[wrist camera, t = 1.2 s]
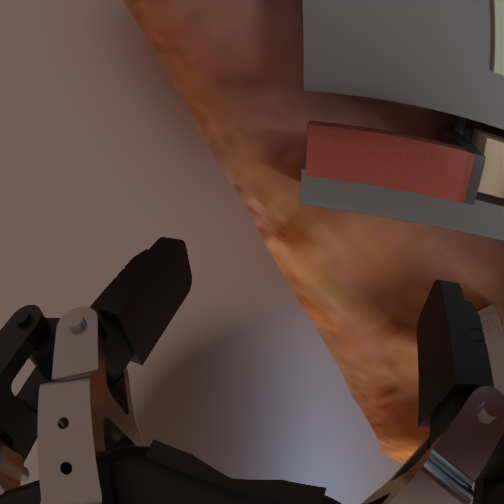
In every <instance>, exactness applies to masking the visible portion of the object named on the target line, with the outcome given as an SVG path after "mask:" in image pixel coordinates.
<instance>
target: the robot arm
mask: <svg viewBox="0 0 504 504" xmlns="http://www.w3.org/2000/svg"><path fill="white" fill-rule="evenodd" d="M191 283H192V275H191V270H190V265H189V260H188V255H187V249H186V245H185V242H184V241H183V240H180V239H173V238H166V237H161V238H159V239H158V240H157V241H156V242H155V243H154V244H153V246H152V247H151V248H150V249H149V250H147V249H146V250H145V251H143V252H141V253H140V254H138V255H136V256H135V257H133V258H132V260H131V261H130V262H129V263H128V264H127V265H126V266H125V269H123V270H122V271H121V272H120V273H119V274H118V276H117V278H115V279H114V280H113V281H112V282H111V283H110V284H109V285H108V287H107V288H106V289H105V290H104V291H103V292H102V293H101V295H100V296H99V297H98V298H97V299H96V300H95V302H94V303H93V304H92V305H91V306H90V307H78V308H74V309H72V310H70V311H68V312H67V313H66V314H65V315H63V316H62V318H45V317H44V315H43V313H42V312H41V310H40V308H39V307H38V306H36V305H27V306H24V307H22V308H21V309H19V310H18V311H16V312H15V313H14V315H13V316H12V317H11V318H10V319H9V321H8V322H7V323H6V324H5V325H4V327H3V328H2V329H1V330H0V504H341V503H340V502H338V501H336V500H334V499H332V498H330V497H328V496H325V495H324V494H325V491H326V488H324V487H317V486H311V485H305V484H299V483H294V482H289V481H284V480H246V479H244V480H243V479H232V478H229V477H227V476H225V475H224V474H222V473H220V472H219V471H217V470H215V469H214V468H212V467H211V466H209V465H207V464H206V463H204V462H203V461H201V460H200V459H198V458H196V457H195V456H193V455H192V454H189V453H187V452H184V451H181V450H178V449H176V448H174V447H171V446H169V445H166V444H164V443H161V442H159V441H157V440H153V442H152V443H151V446H150V447H148V446H145V445H144V441H143V438H142V435H141V432H140V430H139V428H138V426H137V424H136V421H135V417H134V411H133V405H132V398H131V391H130V384H129V376H128V370H127V368H126V366H127V365H128V363H129V362H130V361H133V362H135V363H138V364H140V365H143V364H144V362H145V361H146V359H147V357H148V356H149V354H150V352H151V351H152V349H153V348H154V346H155V345H156V343H157V341H158V340H159V338H160V337H161V335H162V333H163V332H164V330H165V329H166V327H167V326H168V324H169V322H170V321H171V319H172V318H173V316H174V315H175V313H176V312H177V310H178V309H179V307H180V305H181V304H182V302H183V301H184V299H185V298H186V296H187V294H188V293H189V291H190V288H191ZM482 330H483V328H482V323H481V320H480V316H479V314H478V312H477V311H476V309H475V308H474V306H473V305H472V303H471V302H468V301H464V297H463V293H462V290H461V286H460V284H459V283H455V282H449V281H442V280H436V281H435V282H434V284H433V286H432V289H431V291H430V293H429V296H428V298H427V301H426V303H425V305H424V307H423V310H422V312H421V314H420V317H419V321H418V326H417V345H418V370H419V413H418V426H430V435H429V436H428V437H427V438H426V440H425V441H424V442H423V443H422V444H421V446H420V447H419V448H418V449H417V450H416V451H415V453H414V454H413V455H412V456H411V457H410V458H409V459H408V460H407V462H406V463H405V464H404V465H403V466H402V467H401V468H400V469H399V470H398V471H397V472H396V473H395V474H394V475H393V476H392V477H391V478H390V479H389V480H388V481H387V482H386V483H385V484H384V485H383V486H382V487H381V488H379V489H378V490H377V491H376V492H374V493H373V494H372V495H371V496H370V497H368V498H367V499H366V500H365V501H364V502H363V503H362V504H469V503H470V502H471V500H472V498H473V504H504V394H503V393H502V392H501V391H499V390H498V389H496V388H494V383H493V376H492V370H491V365H490V360H489V354H488V350H487V345H486V343H485V341H486V340H485V336H484V332H482ZM28 358H29V359H30V360H31V361H32V362H33V364H34V365H35V366H36V367H35V369H34V370H33V372H32V373H31V375H30V376H29V378H28V379H27V381H26V382H25V384H24V385H23V387H22V389H21V390H20V392H19V393H18V394H17V395H16V396H14V395H13V393H12V390H11V384H12V381H13V379H14V378H15V377H16V375H17V374H18V372H19V371H20V369H21V368H22V366H23V365H24V363H25V362H26V360H27V359H28ZM37 437H38V466H39V480H38V481H35V482H32V483H29V484H26V485H23V486H20V481H26V480H28V478H29V471H28V469H27V468H26V467H24V461H25V459H26V458H27V456H28V454H29V452H30V450H31V448H32V446H33V444H34V443H35V441H36V439H37ZM474 482H475V488H474V491H473V490H472V489H471V488H472V485H473V483H474ZM473 495H474V496H473Z"/></svg>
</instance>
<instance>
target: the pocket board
mask: <svg viewBox="0 0 504 504" xmlns="http://www.w3.org/2000/svg"><path fill="white" fill-rule="evenodd" d="M303 49H304V88H303V91H313V92H325V93H335V94H344V95H353V96H360V97H368V98H375V99H381V100H387V101H393V102H398V103H404V104H409V105H414V106H419V107H424V108H428V109H432V110H437V111H441V112H445V113H449V114H453V115H457V116H460V117H464V118H468V119H471V120H475V121H478V122H481V123H484V124H488V125H491V126H494V127H497V128H500V129H503V130H504V0H303ZM300 204H302V205H309V206H316V207H323V208H330V209H337V210H344V211H350V212H356V213H363V214H369V215H375V216H381V217H387V218H393V219H398V220H404V221H409V222H415V223H420V224H426V225H431V226H436V227H441V228H446V229H451V230H456V231H461V232H466V233H470V234H475V235H480V236H484V237H489V238H493V239H497V240H502V241H504V198H500V197H496V196H493V195H489V194H485V193H481V192H477V196H476V199H475V203H474V205H470V204H465V203H461V202H457V201H452V200H447V199H443V198H438V197H433V196H428V195H423V194H418V193H413V192H408V191H402V190H397V189H391V188H385V187H379V186H373V185H367V184H361V183H354V182H347V181H340V180H333V179H326V178H318V177H310V176H306V161H305V163H304V165H303V167H302V172H301V196H300Z"/></svg>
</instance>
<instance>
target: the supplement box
mask: <svg viewBox="0 0 504 504" xmlns="http://www.w3.org/2000/svg"><path fill="white" fill-rule="evenodd" d="M477 312H478V314H479V316H480V320H481V323H482V328H483V330H482V332H484V336H485V340H486V341H485V343H486V345H487V350H488V354H489V360H490V365H491V370H492V376H493V383H494V388H496V389H498V390H499V391H501V392H502V393H503V394H504V332H503V329H502V326H501V323H500V320H499V317H498V314H497V312H496V309H495V307H494V304H491V305H489V306H487V307H485V308H483V309H481V310H479V311H477Z"/></svg>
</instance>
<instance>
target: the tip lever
mask: <svg viewBox="0 0 504 504" xmlns="http://www.w3.org/2000/svg"><path fill="white" fill-rule="evenodd" d="M466 123H467V118H464V117H460V116H457V115H455V121H454V125H453V124H450V127H447V126H442V125H441V126H440V132H439V139H438V141H436V140H431V139H427V138H422V137H417V136H412V135H407V134H402V133H396V132H391V131H385V130H379V129H372V128H366V127H359V126H352V125H344V124H335V123H326V122H317V121H310V122H309V123H308V124H307V154H306V176H310V177H318V178H326V179H333V180H340V181H347V182H354V183H361V184H367V185H373V186H379V187H385V188H391V189H397V190H402V191H408V192H413V193H418V194H423V195H428V196H433V197H438V198H443V199H447V200H452V201H457V202H461V203H465V204H470V205H474V203H475V199H476V196H477V192H478V189H479V185H480V181H481V177H482V173H483V169H484V165H485V160H486V157H485V156H484V155H483V154H482V153H481V152H480V151H479V150H478V149H477V148H476V147H475V146H474V145H473V144H471V143H472V137H473V131H474V130H471V129H468V128H466Z"/></svg>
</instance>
